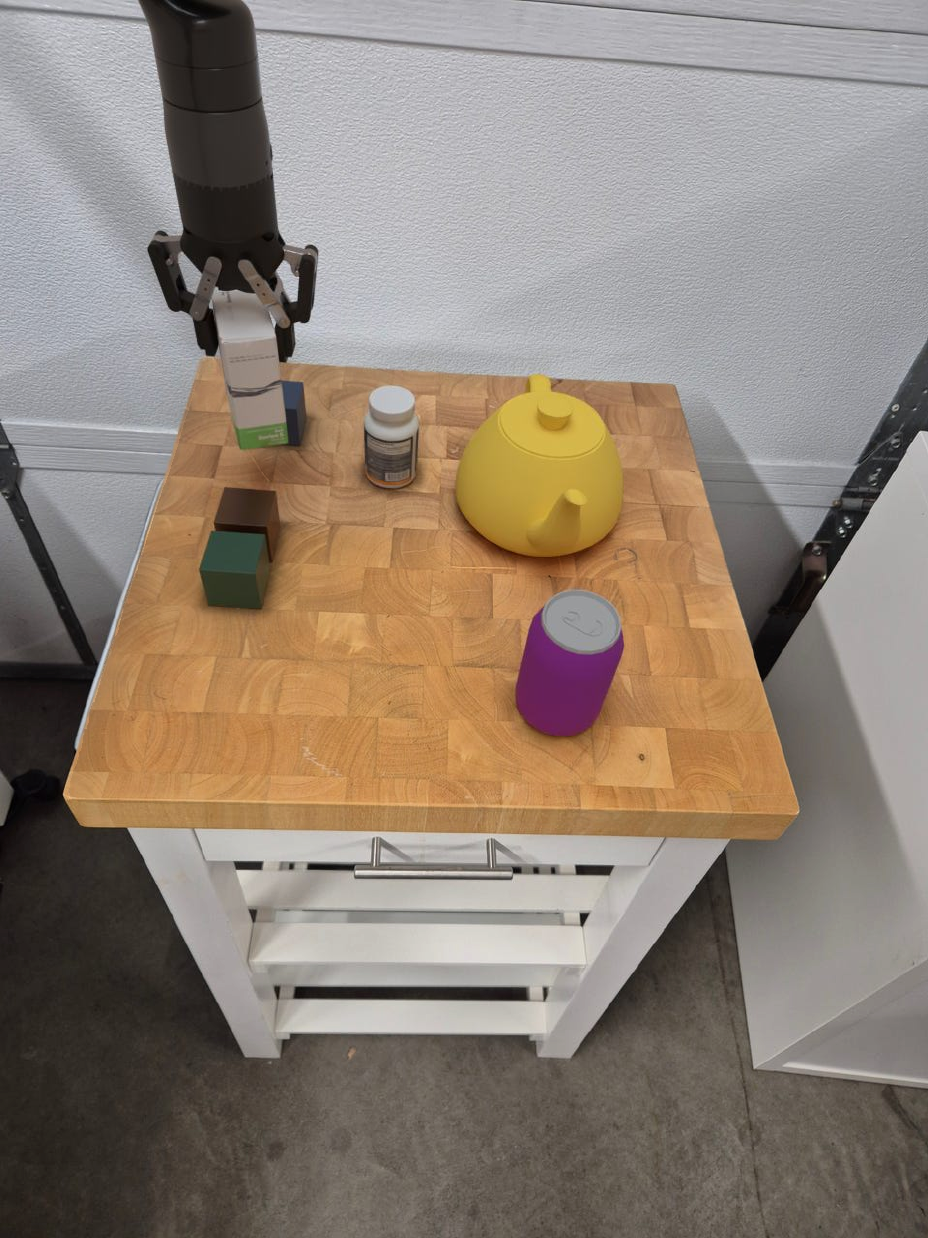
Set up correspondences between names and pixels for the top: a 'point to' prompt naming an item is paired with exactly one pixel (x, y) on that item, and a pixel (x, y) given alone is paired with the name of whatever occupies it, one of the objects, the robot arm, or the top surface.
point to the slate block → (294, 410)
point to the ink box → (250, 369)
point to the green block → (235, 569)
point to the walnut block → (250, 514)
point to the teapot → (541, 474)
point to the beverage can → (569, 662)
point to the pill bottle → (391, 437)
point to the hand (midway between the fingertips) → (248, 354)
